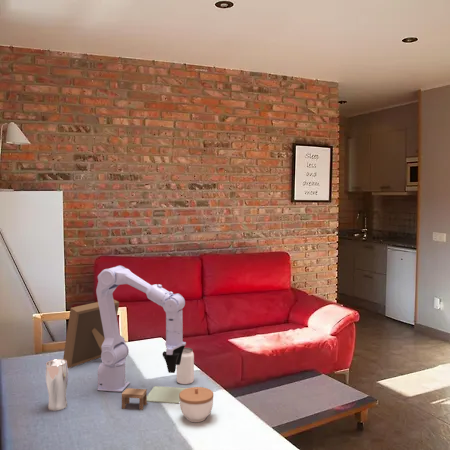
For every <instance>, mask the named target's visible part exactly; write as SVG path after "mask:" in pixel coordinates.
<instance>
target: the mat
mask: <svg viewBox="0 0 450 450" xmlns="http://www.w3.org/2000/svg"><path fill="white" fill-rule="evenodd" d="M184 389H187V387H174V386H173V387H172V386H171V387H170V386H156V385H155V386H153V387H152V389H151V390H150V391H149V393H148V394H147V403H148V402H149V403H163V404H177V405H178V404H179V405H180V398H179V394H180V392H181V391H183V390H184Z"/></svg>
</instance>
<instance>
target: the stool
mask: <svg viewBox="0 0 450 450" xmlns="http://www.w3.org/2000/svg"><path fill="white" fill-rule="evenodd" d="M147 392H148V390H147V389H145V388H132V387H131V388H130V387H126V388H125V389H124V390H123V391H122V393H121V409H122V410H125V409H126V408H127V405H129V404H130V401H131V399H138V400H139V411H143V410H144V406H147V404H148V402H147V395H148V394H147Z"/></svg>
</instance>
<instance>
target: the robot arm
mask: <svg viewBox="0 0 450 450" xmlns="http://www.w3.org/2000/svg"><path fill="white" fill-rule="evenodd" d="M97 281H98V282H97V284H96V285H97V286H96V290H95V291H96V292H95V294H96V298H97V299H96V300H97V302H98V304H99V310H100V315H101V321H102V326H103V332H104V337H105V340H104V342H103V344H102V346H101V348H102V353H101V357H100V359H101V361H102V362H100V363H99V366H98V368H97V389H96V390H97V391H101V392H119V393H121V392H122V393H123V392H124V391H125V389H126V388H128V385H130V381H126V358H127V357H128V355H129V351H130V350H129V347H128V345H127V343H126V340H125V337H124V336H122V335H121V334H120V328H119V327H120V326H119V322H118V315H117V316H116V311H115V305H114V300H115V299H114V295H113V294H114V292H115V290H116V289H117V288H118V287H119V286H120V285H128V286H130V287H132V288H135V289H136V290H138V291H140V292H143V293H145V294H146V297H147V299H148V300H150V301H151V302H153V303H155V304H157V305H158V306H160V307H162V308H163V311H164V312H165V348H166V349H165V351H163V352H162V357H163V359H164V361H165V363H166V368H167V371H168V372H167V373H169V374H175V372H176V371H177V365H180V362H181V357H182V352H183V349H184V348H186V345H187V342H186V341H183V339H184V338H183V337H184V336H183V334H184V331H183V327H184V326H183V324H184V323H183V322H184V321H183V318H184V317H183V308H184V307H185V305H186V300H185V298H184V297H183V295H182V294H180V293H174V292H173V291H169V290H167V289H166V288H164V287H163V285H162V284H159V283H158V284H157V283H156V284H150V283H149V282H147V281H145V280H144V279H143V278H141V277H139V276H138V275H137V274H135V273H133V272H132V271H131V270H130V269H129V268H127V267H125V266H123V265H116V266H113V267H110V268H105V269H102V270H101V272H100V273H99V274H98V275H97ZM113 299H114V300H113Z"/></svg>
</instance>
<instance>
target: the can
mask: <svg viewBox="0 0 450 450" xmlns="http://www.w3.org/2000/svg"><path fill="white" fill-rule="evenodd" d="M194 368H195V353H194V352H193V348H190V347H184V349H183V352H182V357H181V362H180V365H176V382H177V383H178V384H180V385H189V384H192V383H193V382H194V380H195V369H194Z"/></svg>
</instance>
